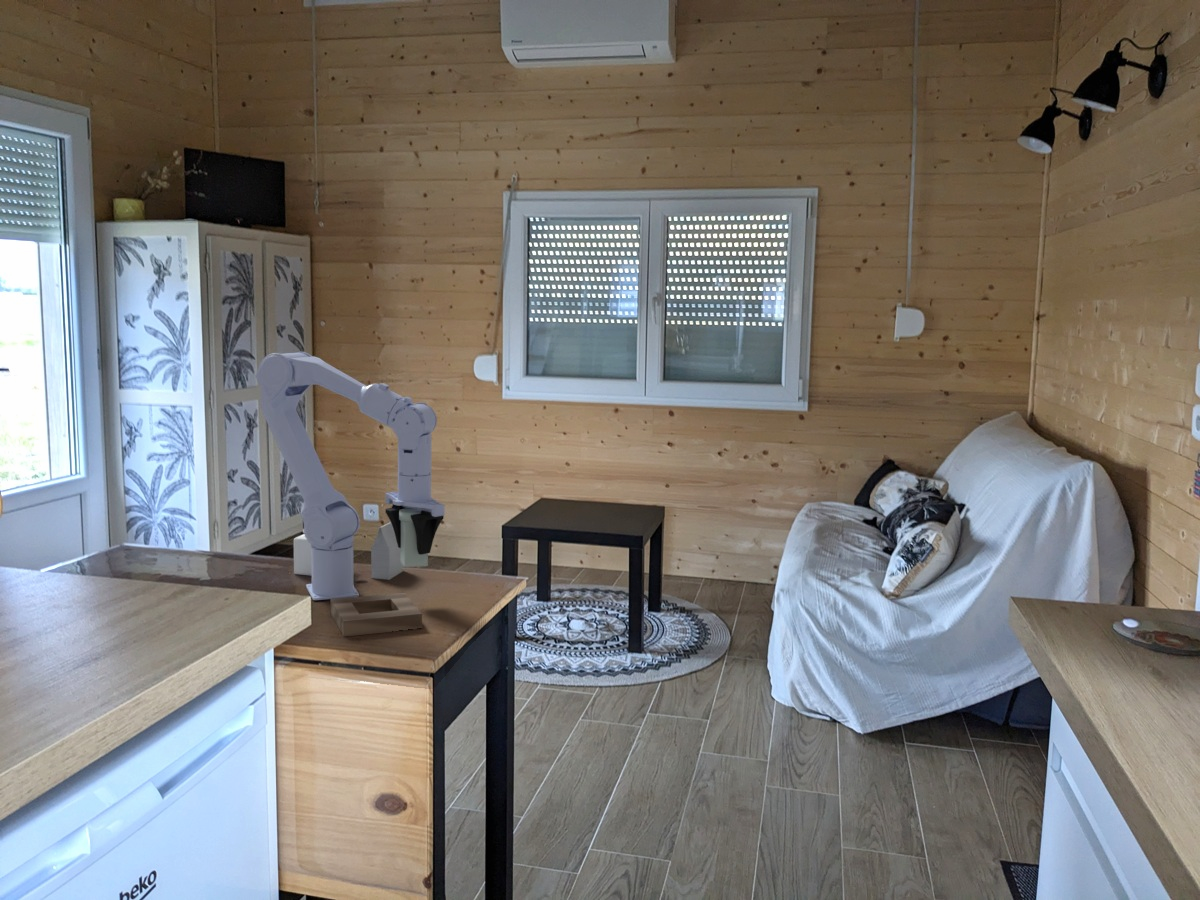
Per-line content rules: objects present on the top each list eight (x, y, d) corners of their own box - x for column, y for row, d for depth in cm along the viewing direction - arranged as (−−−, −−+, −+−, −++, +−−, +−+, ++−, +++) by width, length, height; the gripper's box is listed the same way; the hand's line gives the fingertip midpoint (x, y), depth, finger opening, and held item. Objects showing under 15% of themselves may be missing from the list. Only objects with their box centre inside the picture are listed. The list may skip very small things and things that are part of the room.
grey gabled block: (403, 570, 196) (403, 521, 194) (389, 579, 189) (389, 528, 188) (385, 569, 196) (385, 519, 195) (371, 578, 190) (371, 527, 188)
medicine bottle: (327, 577, 189) (327, 515, 187) (293, 574, 190) (292, 513, 189) (344, 568, 196) (344, 508, 194) (311, 565, 197) (310, 506, 196)
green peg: (396, 560, 176) (396, 508, 174) (425, 559, 178) (426, 507, 176) (401, 568, 171) (402, 514, 170) (431, 566, 173) (432, 512, 171)
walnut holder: (330, 613, 167) (330, 599, 167) (404, 606, 172) (404, 592, 172) (343, 636, 156) (343, 621, 156) (421, 628, 161) (422, 613, 161)
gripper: (370, 470, 174) (370, 545, 176) (420, 481, 164) (420, 561, 166) (404, 466, 179) (404, 540, 181) (454, 477, 169) (453, 555, 171)
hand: (414, 550), depth 174 cm, fingers closed on green peg, 5 cm apart
